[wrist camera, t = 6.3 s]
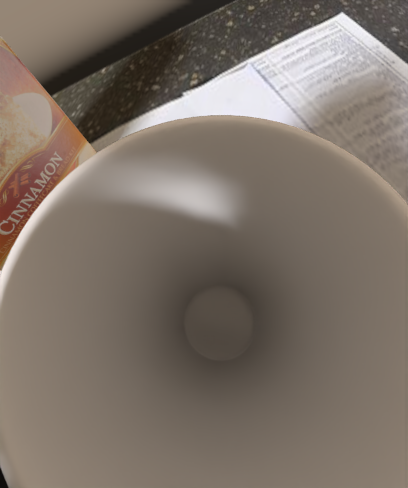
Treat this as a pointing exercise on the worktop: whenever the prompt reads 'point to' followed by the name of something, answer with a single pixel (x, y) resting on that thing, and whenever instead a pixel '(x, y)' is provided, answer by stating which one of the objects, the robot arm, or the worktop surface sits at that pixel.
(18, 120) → the coffeecake box
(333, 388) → the drinking glass
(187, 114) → the worktop surface
